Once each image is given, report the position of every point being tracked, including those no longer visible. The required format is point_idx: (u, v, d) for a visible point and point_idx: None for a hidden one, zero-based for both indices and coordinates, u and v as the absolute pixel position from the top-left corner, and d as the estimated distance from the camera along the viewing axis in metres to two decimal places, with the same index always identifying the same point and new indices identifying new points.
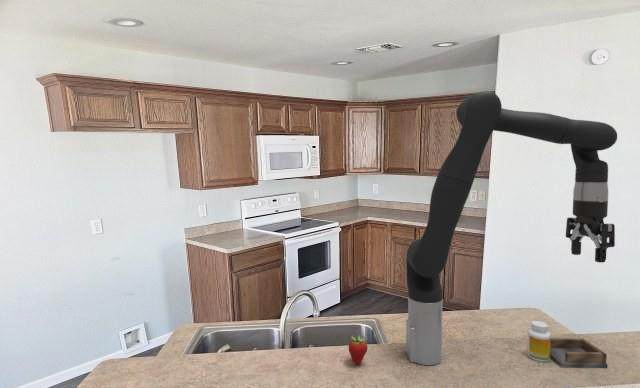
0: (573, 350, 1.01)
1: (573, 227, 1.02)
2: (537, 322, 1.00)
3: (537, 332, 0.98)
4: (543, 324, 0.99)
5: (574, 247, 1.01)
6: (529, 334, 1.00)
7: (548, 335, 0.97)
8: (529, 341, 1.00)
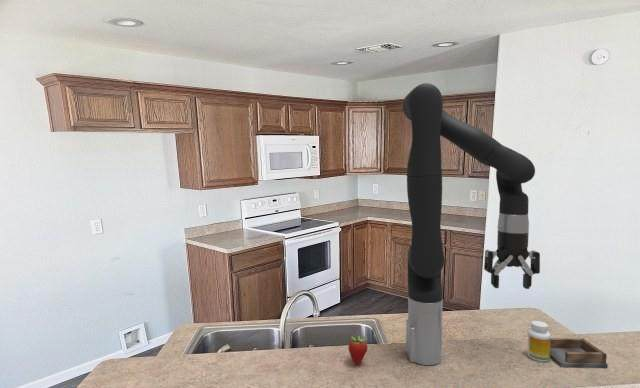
0: (573, 350, 1.01)
1: None
2: (537, 322, 1.00)
3: (537, 332, 0.98)
4: (543, 324, 0.99)
5: None
6: (529, 334, 1.00)
7: (548, 335, 0.97)
8: (529, 341, 1.00)
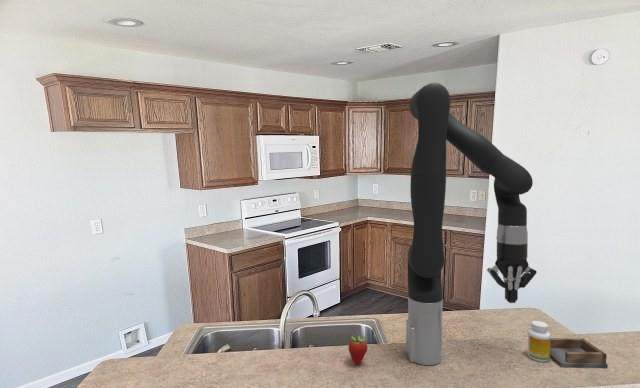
0: (573, 350, 1.01)
1: None
2: (537, 322, 1.00)
3: (537, 332, 0.98)
4: (543, 324, 0.99)
5: None
6: (529, 334, 1.00)
7: (548, 335, 0.97)
8: (529, 341, 1.00)
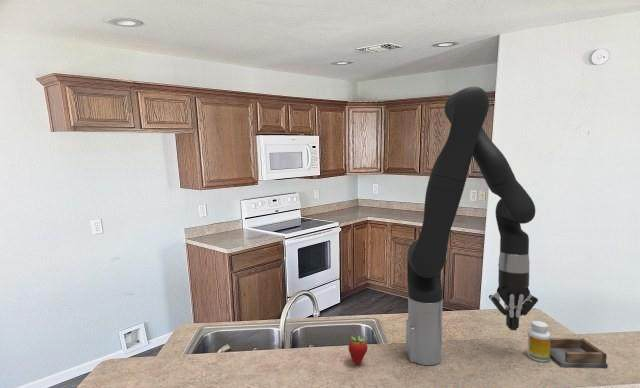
0: (573, 350, 1.01)
1: None
2: (537, 322, 1.00)
3: (537, 332, 0.98)
4: (543, 324, 0.99)
5: None
6: (529, 334, 1.00)
7: (548, 335, 0.97)
8: (529, 341, 1.00)
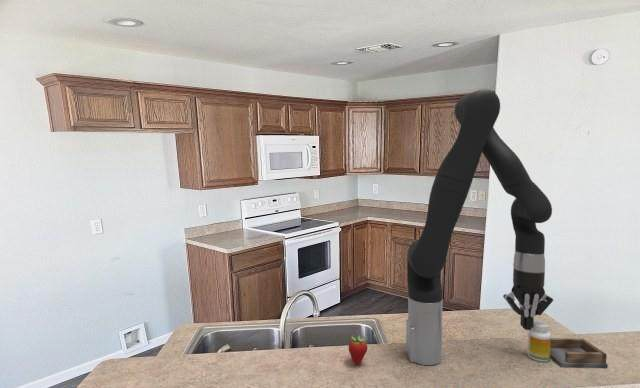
0: (573, 350, 1.01)
1: None
2: (537, 322, 1.00)
3: (537, 332, 0.98)
4: (544, 324, 0.99)
5: None
6: (529, 334, 1.00)
7: (548, 335, 0.97)
8: (529, 341, 1.00)
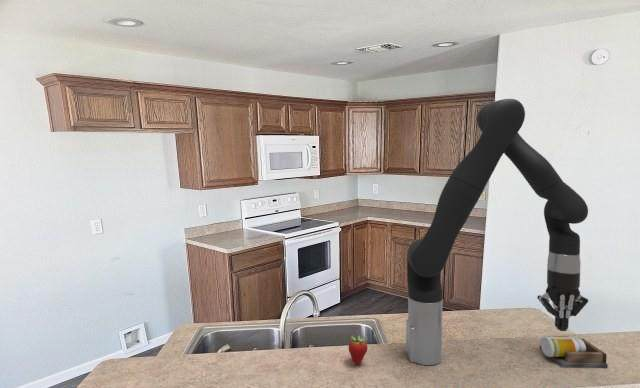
0: None
1: None
2: None
3: (578, 346, 0.97)
4: None
5: None
6: (571, 338, 0.98)
7: None
8: (564, 338, 0.97)
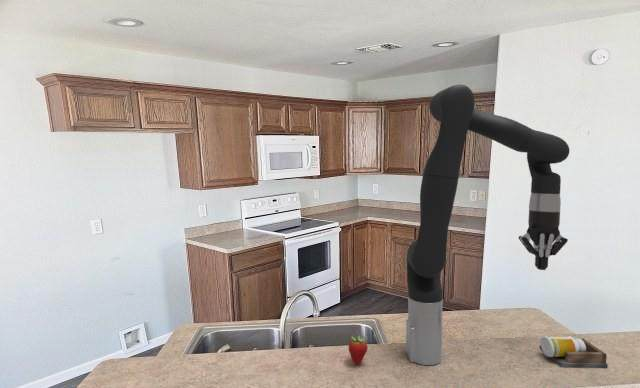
0: None
1: None
2: None
3: (578, 346, 0.97)
4: None
5: None
6: (571, 338, 0.98)
7: None
8: (564, 338, 0.97)
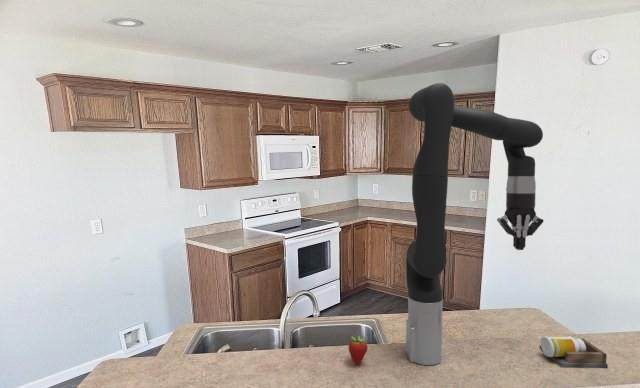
0: None
1: None
2: None
3: (578, 346, 0.97)
4: None
5: None
6: (571, 338, 0.98)
7: None
8: (564, 338, 0.97)
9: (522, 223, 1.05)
